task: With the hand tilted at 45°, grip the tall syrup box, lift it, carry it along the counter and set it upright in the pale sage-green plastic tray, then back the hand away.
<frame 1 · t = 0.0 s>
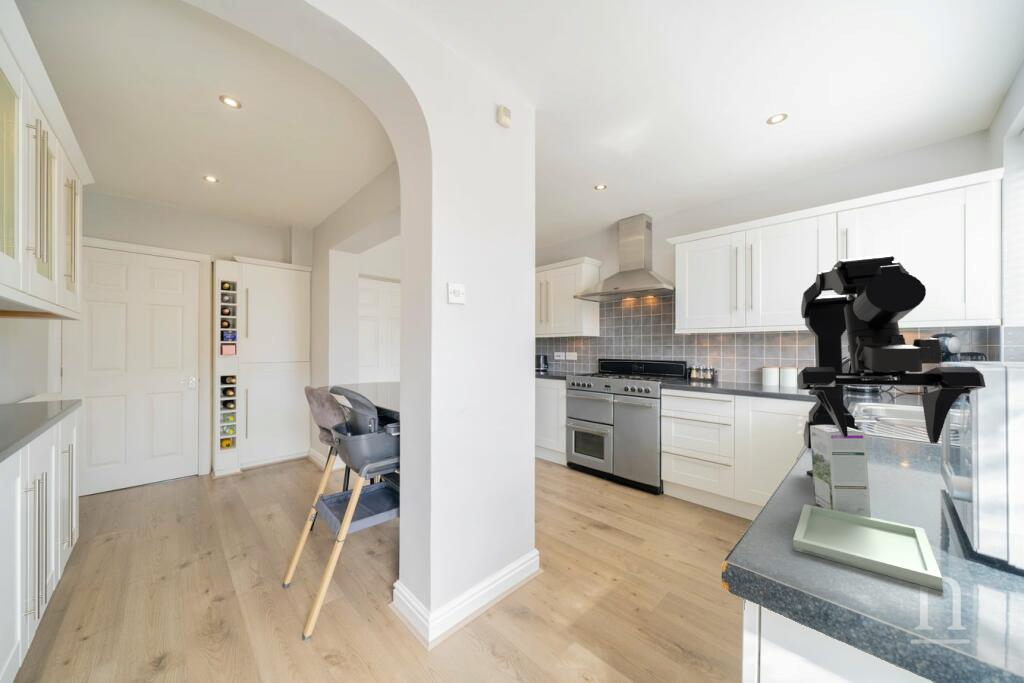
hand: (887, 439, 53), 15 cm above the counter, tool pointing down, fingers open, 9 cm apart
tray: (860, 544, 54), on the counter
syrup box: (841, 511, 65), on the counter
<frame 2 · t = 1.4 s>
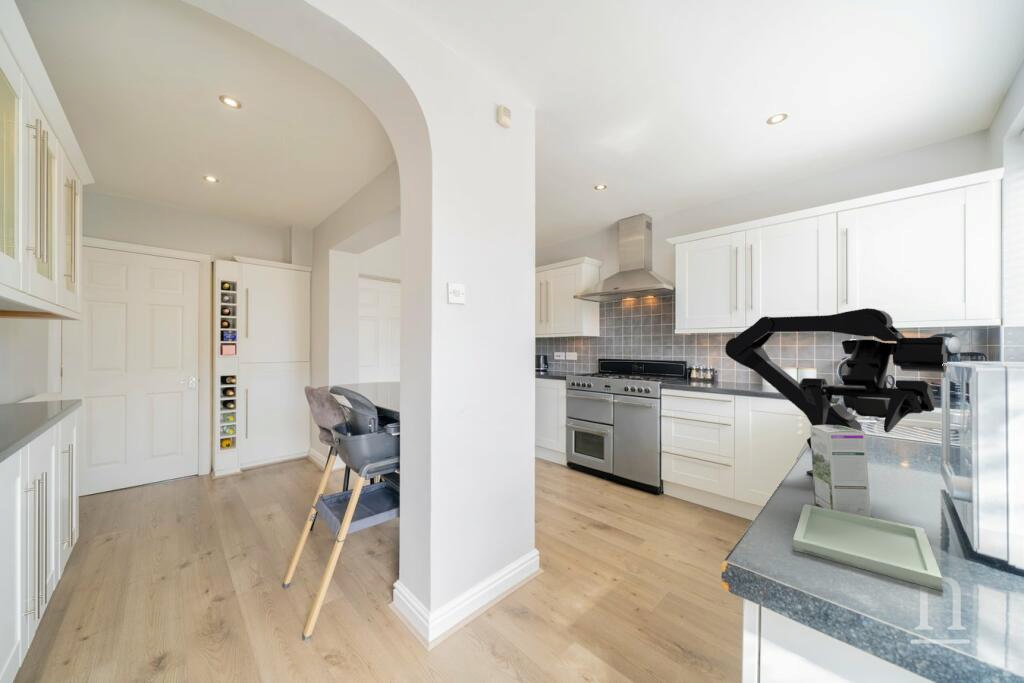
hand: (852, 427, 70), 14 cm above the counter, tool tilted 45°, fingers open, 9 cm apart
nothing on the counter moved.
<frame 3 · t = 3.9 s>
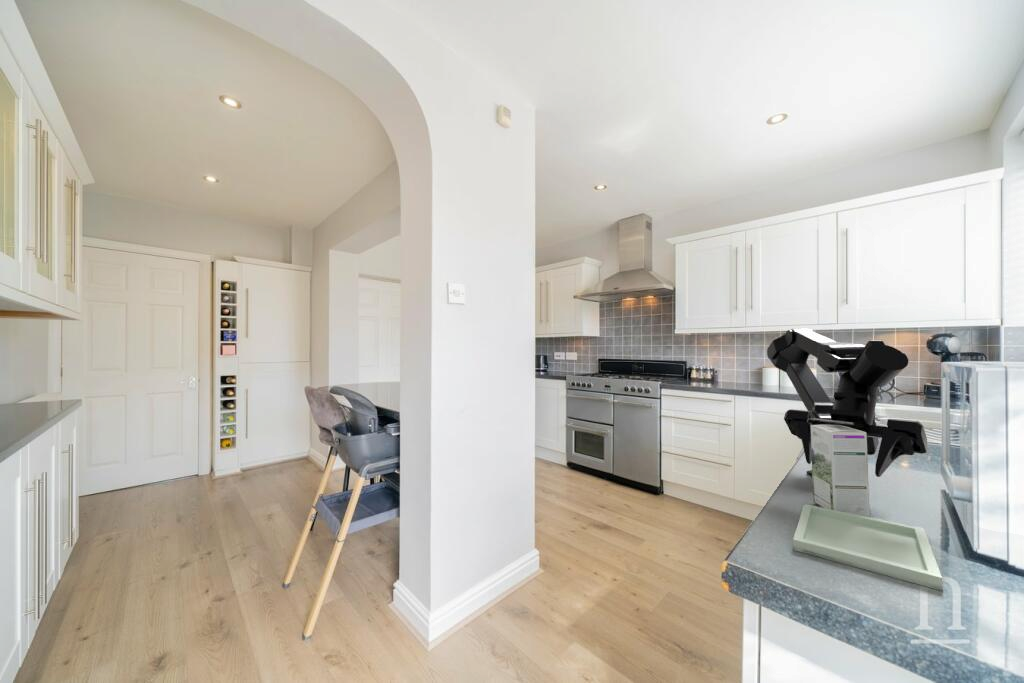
hand: (840, 468, 65), 8 cm above the counter, tool tilted 45°, fingers open, 9 cm apart
syrup box: (840, 511, 65), on the counter, touching gripper
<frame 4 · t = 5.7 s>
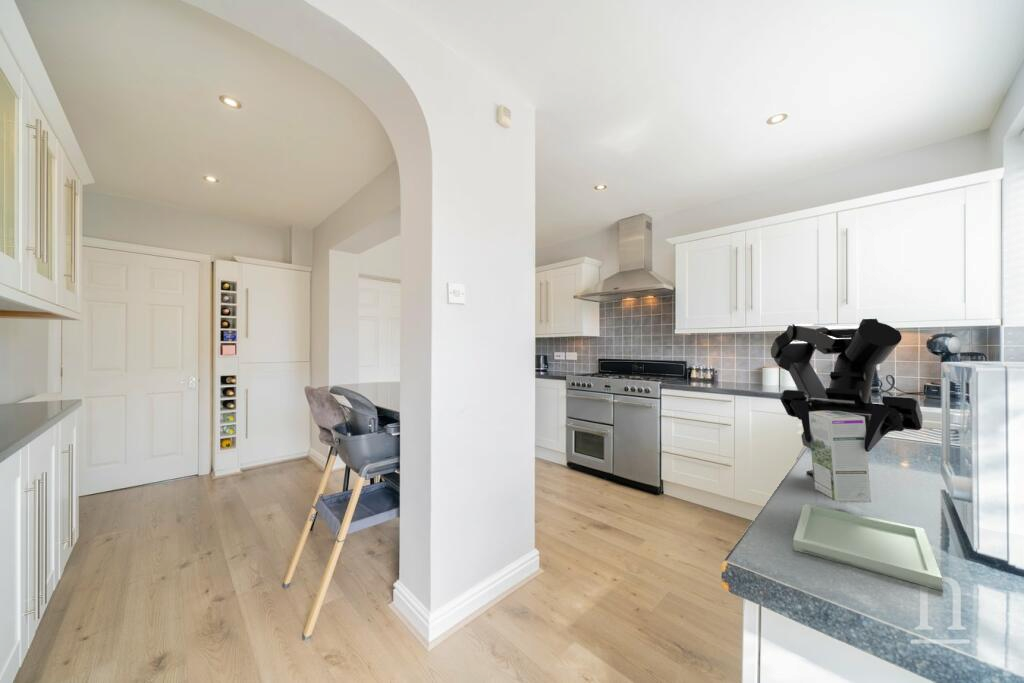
hand: (835, 445, 65), 12 cm above the counter, tool tilted 45°, fingers closed on syrup box, 8 cm apart
syrup box: (840, 497, 65), point 2 cm above the counter, touching gripper
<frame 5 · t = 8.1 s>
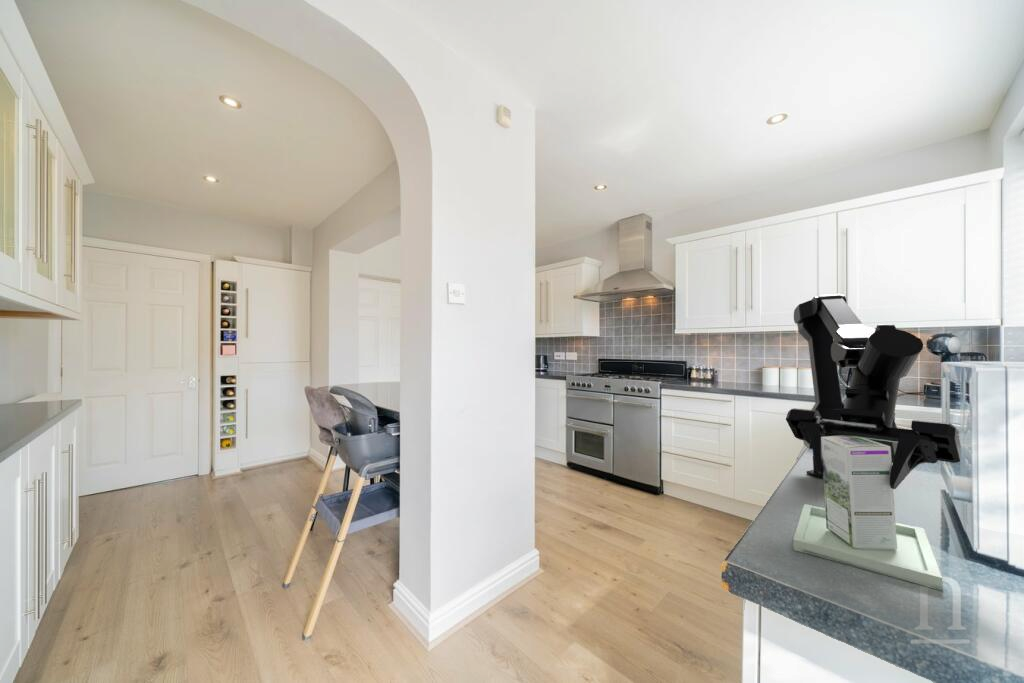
hand: (853, 479, 54), 10 cm above the counter, tool tilted 45°, fingers closed on syrup box, 7 cm apart
syrup box: (859, 540, 54), resting on tray, touching gripper
when the fingers open (10 cm above the counter, at t = 8.6 s): syrup box stays where it is, resting on tray.
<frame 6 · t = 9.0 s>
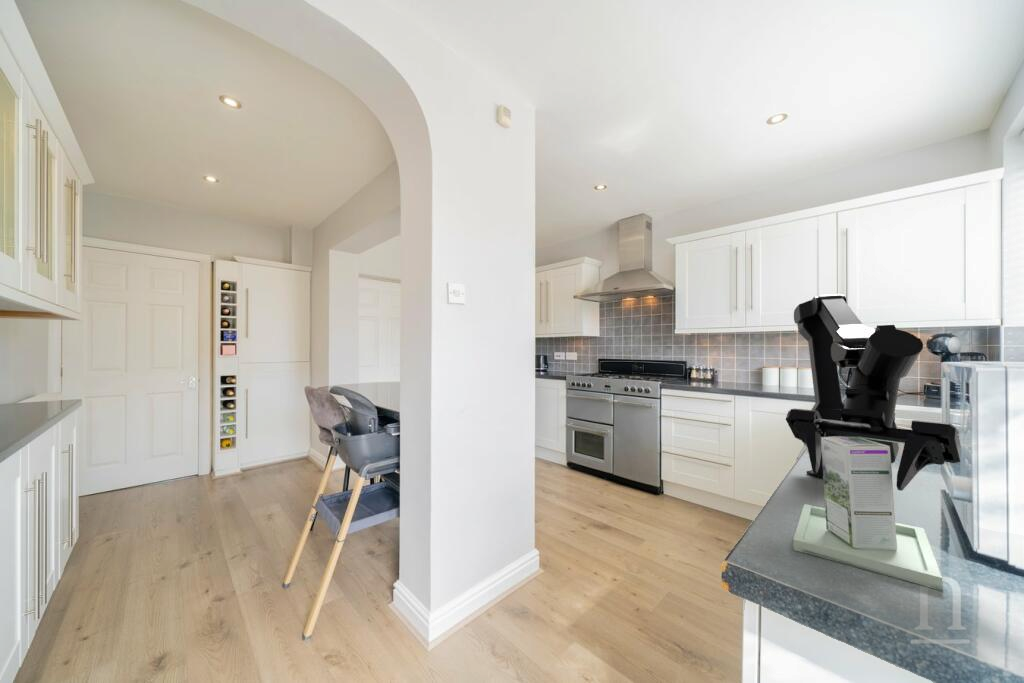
hand: (853, 479, 54), 10 cm above the counter, tool tilted 45°, fingers open, 9 cm apart
syrup box: (859, 541, 54), resting on tray
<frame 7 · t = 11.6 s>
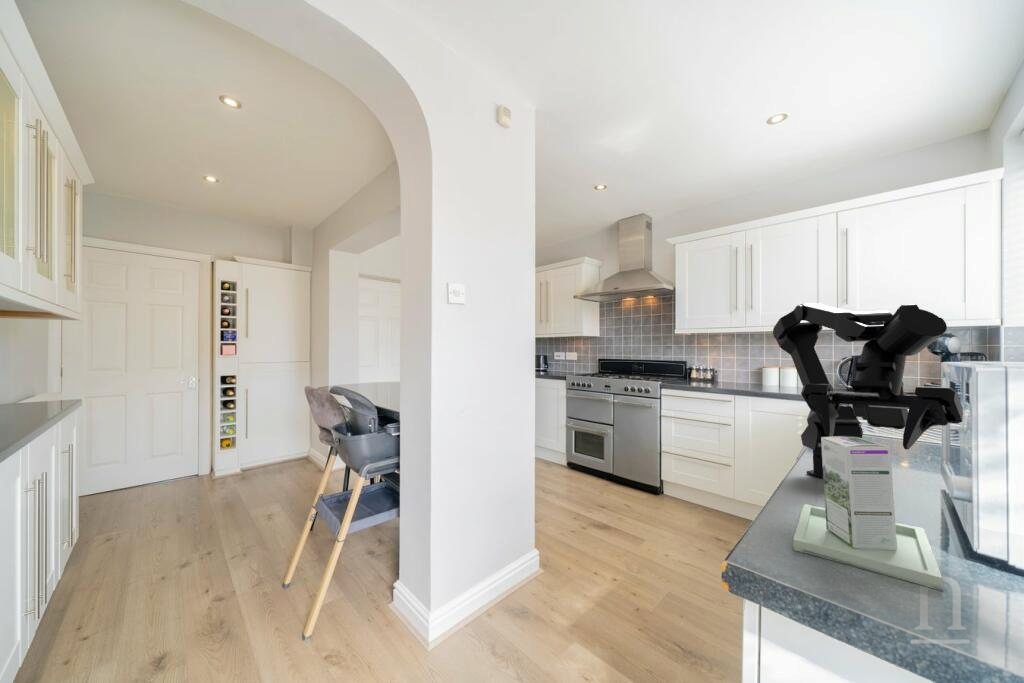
hand: (864, 442, 59), 13 cm above the counter, tool tilted 45°, fingers open, 9 cm apart
nothing on the counter moved.
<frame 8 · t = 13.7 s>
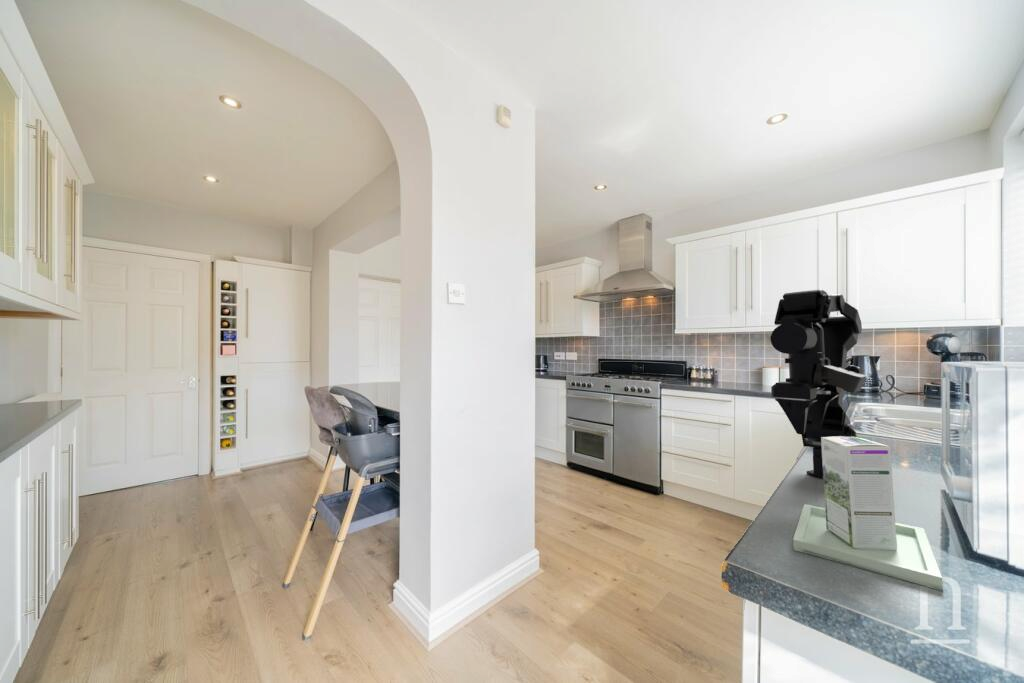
hand: (809, 431, 74), 12 cm above the counter, tool pointing down, fingers open, 9 cm apart
nothing on the counter moved.
at the end: syrup box inside the target area on the tray (0.1 cm from its centre), point 0.3 cm above the tray's base; syrup box tilted 0°; the gripper is holding nothing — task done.
